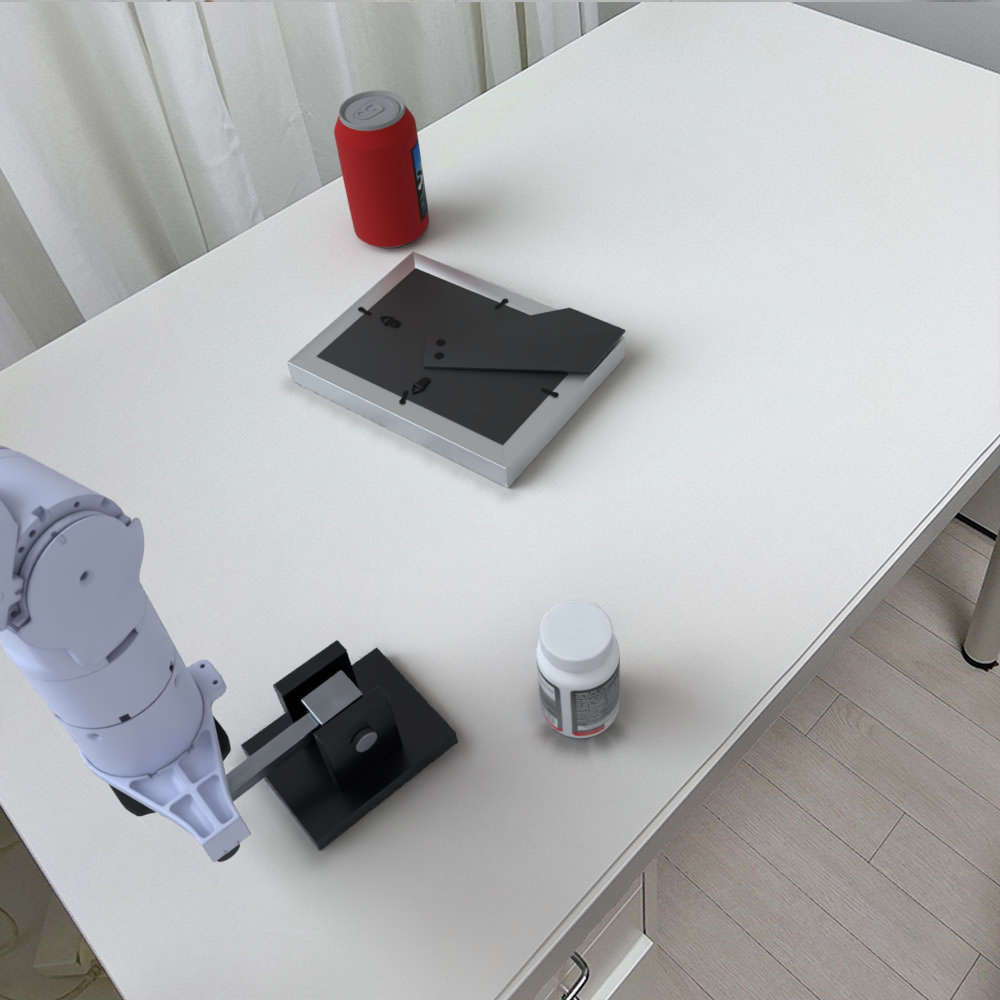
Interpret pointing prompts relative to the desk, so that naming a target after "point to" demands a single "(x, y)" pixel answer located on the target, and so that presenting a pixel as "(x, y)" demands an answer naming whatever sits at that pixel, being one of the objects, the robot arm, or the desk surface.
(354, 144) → the beverage can
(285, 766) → the bracket
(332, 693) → the tap lever
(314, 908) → the desk surface
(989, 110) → the desk surface
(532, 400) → the picture frame
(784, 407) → the desk surface
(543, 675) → the pill bottle
